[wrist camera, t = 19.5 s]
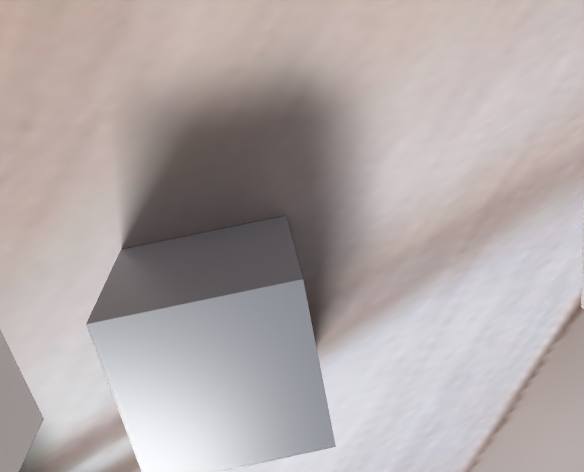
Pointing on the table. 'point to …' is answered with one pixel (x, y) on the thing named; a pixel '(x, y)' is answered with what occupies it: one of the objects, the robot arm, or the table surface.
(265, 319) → the slate gray cube
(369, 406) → the table surface
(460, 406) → the table surface
